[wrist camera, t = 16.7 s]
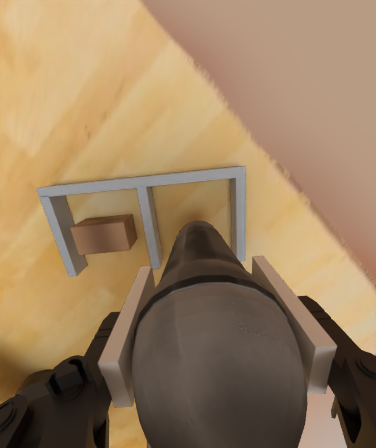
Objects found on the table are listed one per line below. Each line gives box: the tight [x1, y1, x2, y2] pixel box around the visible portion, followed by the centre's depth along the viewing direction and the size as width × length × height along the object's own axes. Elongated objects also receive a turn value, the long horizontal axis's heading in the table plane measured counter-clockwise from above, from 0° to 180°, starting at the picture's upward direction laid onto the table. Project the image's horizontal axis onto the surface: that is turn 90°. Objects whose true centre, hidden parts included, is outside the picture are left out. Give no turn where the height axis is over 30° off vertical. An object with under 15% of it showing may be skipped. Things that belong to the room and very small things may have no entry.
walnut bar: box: [70, 214, 137, 255], centre depth 25 cm, size 7×4×4 cm, turn 96°
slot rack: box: [36, 166, 246, 277], centre depth 25 cm, size 26×13×3 cm, turn 96°
